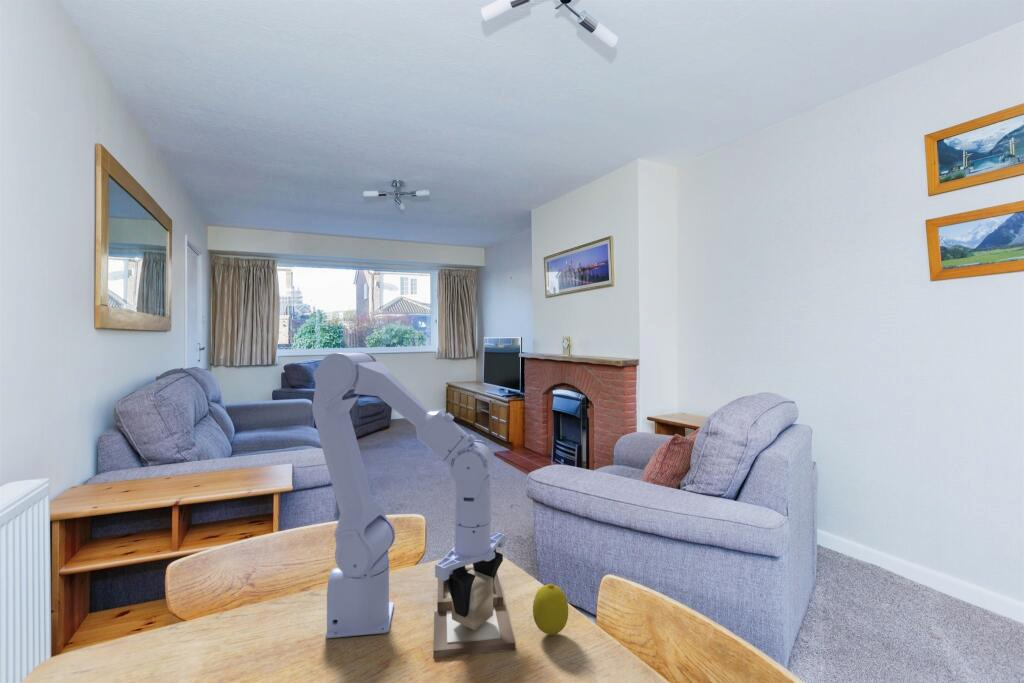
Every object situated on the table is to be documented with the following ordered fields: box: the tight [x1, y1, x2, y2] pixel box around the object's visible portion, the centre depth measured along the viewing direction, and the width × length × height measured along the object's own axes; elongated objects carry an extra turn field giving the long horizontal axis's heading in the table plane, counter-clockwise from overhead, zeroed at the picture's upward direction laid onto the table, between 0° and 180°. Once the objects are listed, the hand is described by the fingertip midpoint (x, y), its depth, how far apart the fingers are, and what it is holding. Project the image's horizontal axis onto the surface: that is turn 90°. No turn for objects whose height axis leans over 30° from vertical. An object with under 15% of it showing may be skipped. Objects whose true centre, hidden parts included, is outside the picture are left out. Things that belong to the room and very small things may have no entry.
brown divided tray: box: [432, 566, 516, 658], centre depth 78 cm, size 12×21×2 cm, turn 9°
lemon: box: [532, 583, 569, 637], centre depth 72 cm, size 6×6×8 cm
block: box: [452, 569, 493, 630], centre depth 73 cm, size 5×5×6 cm
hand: (472, 606), depth 73 cm, fingers closed on block, 4 cm apart
